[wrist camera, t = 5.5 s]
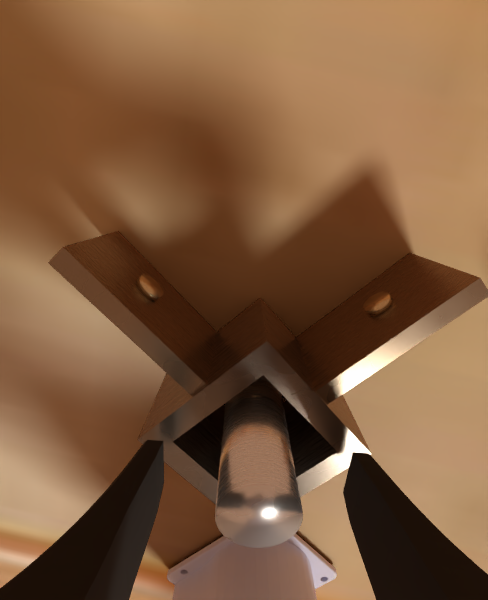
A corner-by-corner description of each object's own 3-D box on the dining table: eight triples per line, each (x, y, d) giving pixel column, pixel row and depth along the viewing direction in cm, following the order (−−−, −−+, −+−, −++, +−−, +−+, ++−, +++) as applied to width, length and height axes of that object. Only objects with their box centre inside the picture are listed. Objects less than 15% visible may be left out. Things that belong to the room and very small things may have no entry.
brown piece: (245, 446, 19) (246, 530, 14) (67, 281, 16) (-9, 318, 11) (448, 308, 16) (532, 355, 11) (282, 69, 13) (304, -4, 8)
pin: (250, 407, 18) (253, 559, 11) (217, 375, 17) (196, 513, 10) (288, 380, 18) (320, 520, 10) (255, 346, 17) (264, 469, 9)
